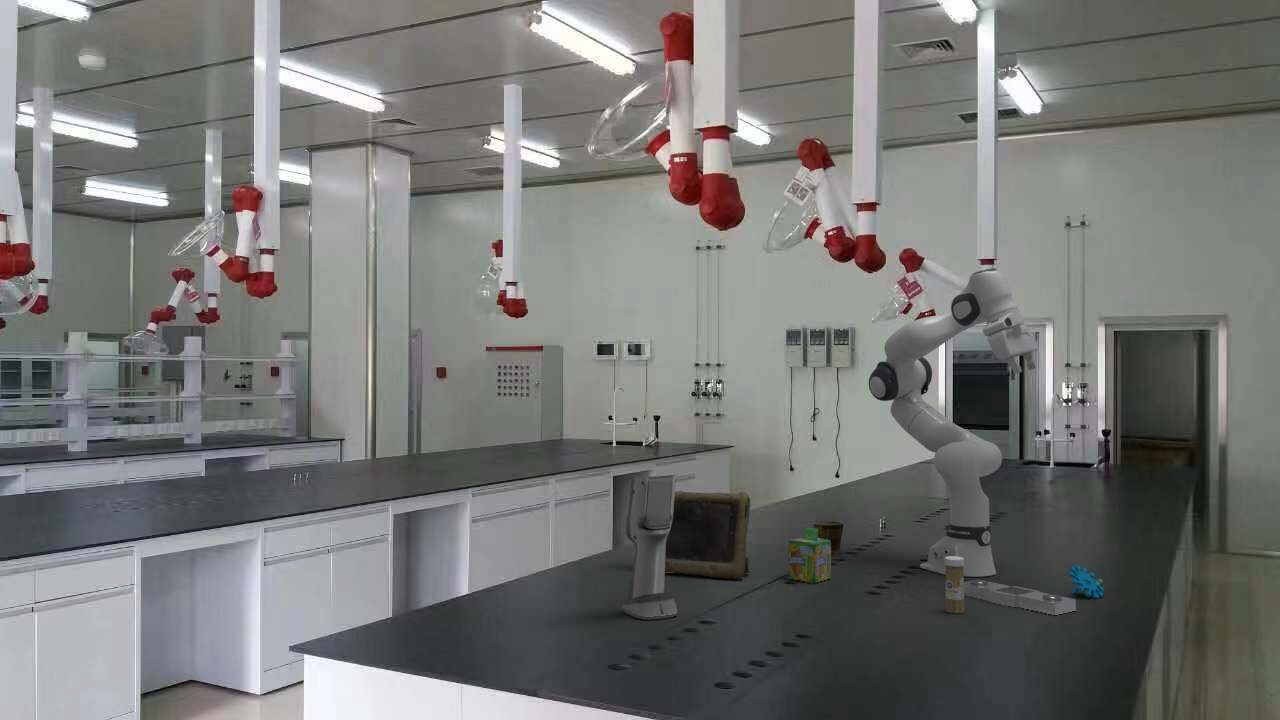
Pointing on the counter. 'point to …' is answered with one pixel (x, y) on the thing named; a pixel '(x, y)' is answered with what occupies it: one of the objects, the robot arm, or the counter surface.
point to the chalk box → (810, 558)
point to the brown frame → (708, 534)
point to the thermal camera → (650, 544)
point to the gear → (1086, 582)
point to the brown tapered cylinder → (830, 532)
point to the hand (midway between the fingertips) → (1025, 371)
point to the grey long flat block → (1019, 597)
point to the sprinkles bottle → (954, 584)
